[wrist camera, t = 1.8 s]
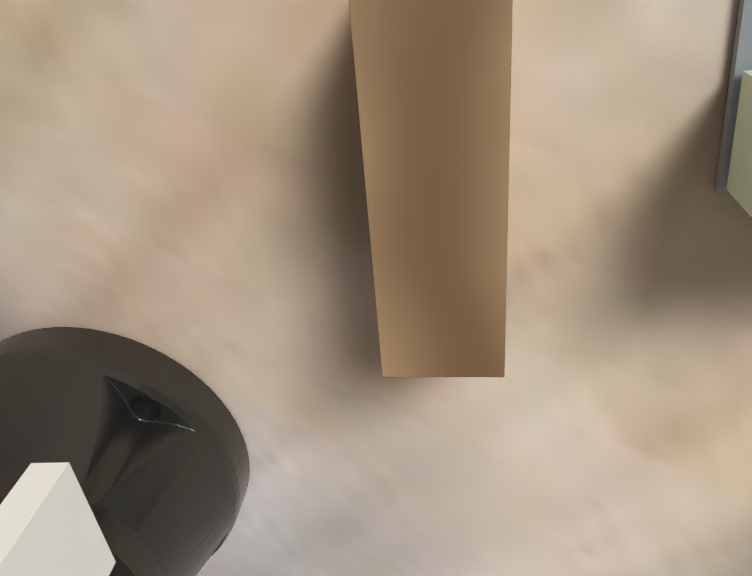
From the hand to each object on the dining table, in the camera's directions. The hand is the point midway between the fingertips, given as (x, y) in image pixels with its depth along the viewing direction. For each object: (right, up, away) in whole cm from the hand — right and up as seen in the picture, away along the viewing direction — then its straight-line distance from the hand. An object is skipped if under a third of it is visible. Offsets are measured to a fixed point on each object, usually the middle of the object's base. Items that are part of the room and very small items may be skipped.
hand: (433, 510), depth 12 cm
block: (+1, +10, +13) cm, 17 cm away
